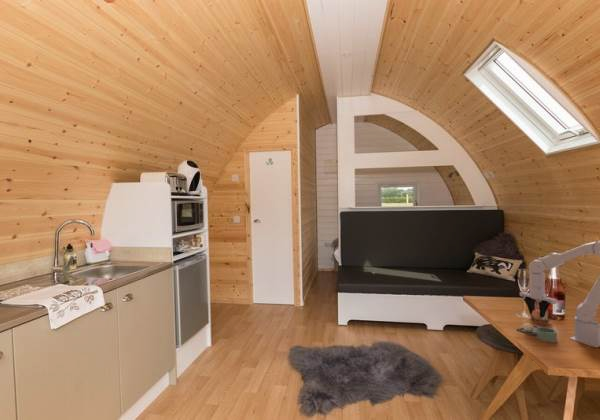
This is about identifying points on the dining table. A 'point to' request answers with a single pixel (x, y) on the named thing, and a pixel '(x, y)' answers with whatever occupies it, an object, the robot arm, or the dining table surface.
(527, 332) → the slate tray
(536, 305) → the soda can
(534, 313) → the ball terracotta
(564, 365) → the dining table surface
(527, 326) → the ball cream
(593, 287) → the robot arm
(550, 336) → the teal tube
